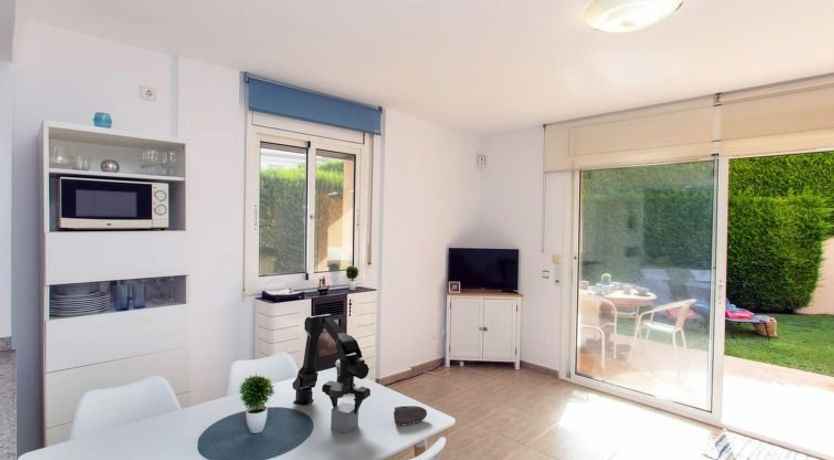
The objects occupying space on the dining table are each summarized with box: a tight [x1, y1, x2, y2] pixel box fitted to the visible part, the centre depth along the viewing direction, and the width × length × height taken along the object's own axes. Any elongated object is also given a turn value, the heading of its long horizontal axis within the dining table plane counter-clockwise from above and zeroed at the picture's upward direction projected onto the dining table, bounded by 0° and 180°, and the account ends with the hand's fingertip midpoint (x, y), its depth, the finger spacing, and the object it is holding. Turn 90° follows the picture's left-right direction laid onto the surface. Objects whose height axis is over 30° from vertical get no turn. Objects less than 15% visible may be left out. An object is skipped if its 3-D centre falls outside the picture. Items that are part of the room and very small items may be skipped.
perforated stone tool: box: [393, 405, 428, 426], centre depth 172 cm, size 15×5×7 cm, turn 111°
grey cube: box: [330, 401, 360, 434], centre depth 166 cm, size 8×8×8 cm
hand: (345, 411), depth 166 cm, fingers open, 9 cm apart
